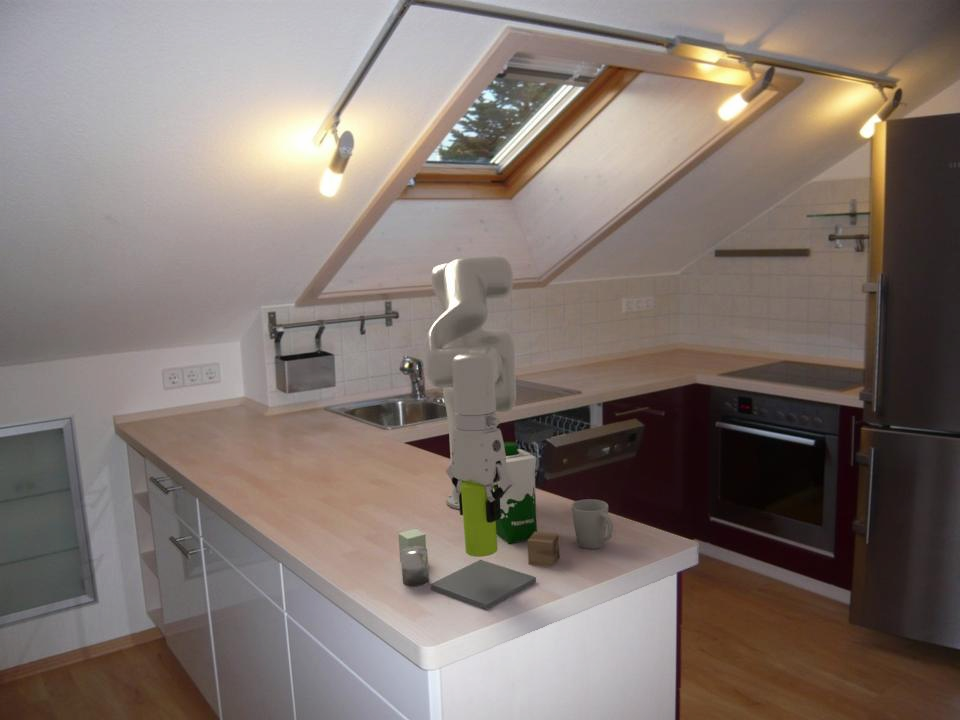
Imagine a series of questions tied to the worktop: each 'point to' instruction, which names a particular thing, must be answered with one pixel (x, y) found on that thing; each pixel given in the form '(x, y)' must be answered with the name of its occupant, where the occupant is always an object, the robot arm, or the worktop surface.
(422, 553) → the metal tin
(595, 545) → the cup
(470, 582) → the plate
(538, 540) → the walnut block
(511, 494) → the milk carton
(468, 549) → the lime spray bottle
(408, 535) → the pale green box
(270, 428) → the worktop surface
